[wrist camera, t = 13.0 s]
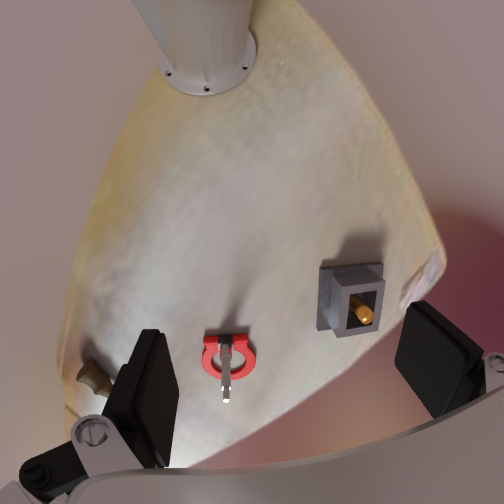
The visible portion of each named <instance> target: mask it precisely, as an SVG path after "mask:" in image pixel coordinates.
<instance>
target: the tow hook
mask: <svg viewBox="0 0 504 504" xmlns="http://www.w3.org/2000/svg"><path fill="white" fill-rule="evenodd" d="M203 343H204V346H206V349H205V350H204V352H203V354H202V365H203V368H204V369H205V371H206V372H207V373H209V374H210V375H211V376H213V377H215V378H218V379H221V389H222V390H223V401H224V402H229V401H230V392H229V390H231V380H236V379H240V378H243V377H244V376H246V375H248V374H249V373H250V372H251V371H252V370H253V368H254V366H255V354H254V352H253V350H252V349H251V348H250V347H249V346H248V345H247V343H248V335H247V334H241V335H219V336H211V337H203ZM233 344H234V349H235V350H236V351H238V352H240V353H242V354H243V355H244V357H245V359H246V361H245V364H244V365H243V366H242V367H241V368H240V369H238V370H236V371H231V370H230V361H231V359H232V351H233ZM218 351H219V352H220V360H221V361H222V371H221V370H219V369H217V368H216V367H215V366H214V365H213V364H212V361H211V359H212V357H213V355H214V354H215V353H217V352H218Z"/></svg>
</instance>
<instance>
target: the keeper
mask: <svg viewBox="0 0 504 504" xmlns="http://www.w3.org/2000/svg"><path fill="white" fill-rule="evenodd" d="M383 265H384V264H383V263H381V262H375V263H364V264H354V265H343V266H332V267H321V268H320V269H319V292H318V310H317V325H316V328H317V330H318V331H322V330H329V329H332V328H331V327H330V325H329V315H330V301H331V285H332V275H340V274H350V273H358V272H367V271H374V272H375V273H376V274H377V275H379V276H380V277H381V278H382V274H383ZM363 295H364V292H362V293H355V294H350V298H349V308H348V314H354V313H355V314H356V315H357V317H358V318H359V319H360V320H361V322H362V323H363V324H369V323H371V322H372V321H373V320H374V317H375V314H374V313H373V312H372V310H371V309H370V308H369V307H368V306H367V305H366V304H365V303H364V302H363Z"/></svg>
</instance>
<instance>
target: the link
mask: <svg viewBox="0 0 504 504" xmlns="http://www.w3.org/2000/svg"><path fill="white" fill-rule="evenodd" d="M384 289H385V280H383V279H382V278H381V277H380V276H379V275H377V274H376V273H375V272H374V271H367V272H358V273H350V274H340V275H332V285H331V301H330V315H329V325H330V327H331V328H332V330H333V332H334V333H335V335H336V337H337V338H341V337H347V336H352V335H358V334H363V333H368V332H373V331H378V327H379V322H380V316H381V310H382V303H383V296H384ZM362 292H364V295H363V302H364V303H365V304H366V305H367V306H368V307H369V308H370V309H371V310H372V312H373V313H374V314H375V317H374V320H373V321H372V322H371V323H369V324H363V323H362V322H361V320H360V319H359V318H358V317H357V315H356V314H355V313H354V314H348V308H349V298H350V294H355V293H362Z"/></svg>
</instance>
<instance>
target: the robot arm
mask: <svg viewBox="0 0 504 504" xmlns="http://www.w3.org/2000/svg"><path fill="white" fill-rule="evenodd" d="M131 1H132V2H133V4H134V5H135V7H136V8H137V10H138V11H139V13H140V15H141V16H142V18H143V20H144V21H145V23H146V25H147V26H148V28H149V30H150V31H151V33H152V34H153V36H154V38H155V40H156V41H157V43H158V45H159V49H158V55H157V61H158V67H159V70H160V72H161V74H162V76H163V77H164V79H165V80H166V81H167V82H168V84H170V85H171V86H172V87H173V88H175V89H177V90H178V91H180V92H182V93H186V94H189V95H194V96H212V95H217V94H221V93H223V92H226V91H229V90H230V89H232V88H234V87H236V86H237V85H238V84H240V83H241V82H242V81H243V80H244V79H245V78H246V77H247V75H248V74H249V73H250V71H251V69H252V67H253V65H254V62H255V57H256V44H255V41H254V38H253V36H252V34H251V32H250V31H249V30H248V26H249V21H250V16H251V10H252V5H253V0H131ZM243 68H246V69H247V70H243ZM169 74H171V76H168V75H169ZM206 89H209V91H208V92H206V91H205V90H206ZM483 353H484V350H483V349H482V348H481V347H479V346H478V345H477V344H476V343H475V342H474V341H473V340H471V339H470V338H469V337H468V336H467V335H466V334H465V333H463V332H462V331H461V330H460V329H459V328H457V327H456V326H455V325H454V324H453V323H452V322H450V321H449V320H448V319H447V318H446V317H444V316H443V315H442V314H441V313H439V312H438V311H437V310H436V309H435V308H433V307H432V306H431V305H430V304H428V303H427V302H426V301H424V300H422V301H417V302H412V303H411V304H410V306H409V307H408V308H407V310H406V315H405V319H404V324H403V329H402V333H401V337H400V341H399V345H398V349H397V352H396V356H395V366H396V368H397V369H398V370H399V372H400V373H401V374H402V376H403V377H404V378H405V380H406V381H407V382H408V384H409V385H410V387H411V388H412V389H413V391H414V392H415V393H416V395H417V396H418V398H419V399H420V400H421V402H422V403H423V405H424V406H425V407H426V409H427V410H428V412H429V413H430V414H431V416H432V417H433V418H434V420H431V421H429V422H427V423H424V424H422V425H419V426H417V427H414V428H412V429H410V430H407V431H404V432H401V433H398V434H395V435H393V436H390V437H387V438H384V439H381V440H378V441H374V442H371V443H368V444H364V445H361V446H357V447H353V448H350V449H346V450H342V451H338V452H334V453H330V454H324V455H320V456H315V457H310V458H305V459H299V460H293V461H286V462H280V463H271V464H263V465H252V466H239V467H224V468H164V467H168V466H169V463H170V455H171V447H172V439H173V432H174V425H175V418H176V412H177V405H178V399H179V388H178V384H177V380H176V377H175V373H174V369H173V365H172V361H171V357H170V353H169V349H168V345H167V341H166V337H165V334H164V333H160V331H159V330H158V329H143V330H142V332H141V334H140V336H139V338H138V341H137V343H136V345H135V348H134V350H133V352H132V355H131V357H130V359H129V362H128V364H124V365H122V367H121V369H120V371H119V373H118V376H117V378H116V380H115V383H114V385H113V387H112V390H111V392H110V395H109V397H108V399H107V402H106V404H105V407H104V409H103V412H102V414H101V415H98V414H96V415H88V416H84V417H82V418H81V419H79V420H78V421H77V422H76V423H75V424H74V425H73V427H72V429H71V434H70V436H71V441H69V442H67V443H65V444H62V445H60V446H58V447H56V448H54V449H52V450H49V451H47V452H45V453H43V454H40V455H38V456H36V457H33V458H31V459H29V460H27V461H26V462H25V463H24V464H23V465H22V466H21V469H20V471H19V481H17V482H15V481H14V480H12V481H11V482H10V483H9V484H7V485H6V486H5V487H4V488H2V489H1V490H0V504H504V355H503V354H500V353H490V354H488V355H487V356H486V357H485V359H484V360H482V359H481V358H482V355H483Z"/></svg>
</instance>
